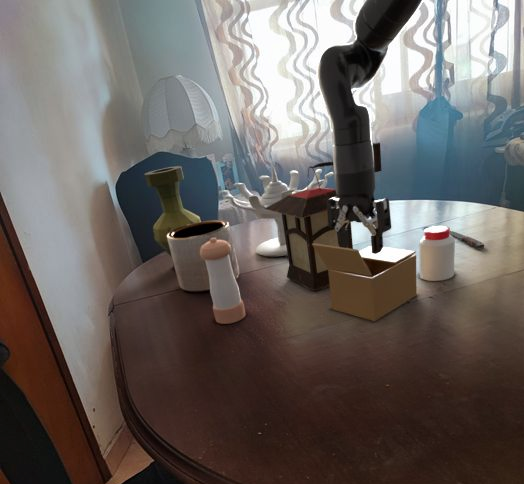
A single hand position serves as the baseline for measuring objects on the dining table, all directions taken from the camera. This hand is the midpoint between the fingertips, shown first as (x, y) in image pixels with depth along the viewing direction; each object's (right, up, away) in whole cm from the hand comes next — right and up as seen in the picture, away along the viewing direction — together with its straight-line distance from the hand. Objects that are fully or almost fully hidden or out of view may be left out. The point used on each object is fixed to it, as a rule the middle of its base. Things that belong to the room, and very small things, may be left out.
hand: (360, 250), depth 95 cm
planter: (-35, -1, +39) cm, 53 cm away
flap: (-4, -2, -3) cm, 6 cm away
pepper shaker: (-28, -13, +15) cm, 34 cm away
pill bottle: (+22, -3, +15) cm, 27 cm away
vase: (-45, +7, +58) cm, 74 cm away
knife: (+34, +12, +37) cm, 52 cm away
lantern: (-1, 0, +28) cm, 28 cm away
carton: (+5, -10, +8) cm, 14 cm away
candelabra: (-13, +12, +55) cm, 58 cm away
